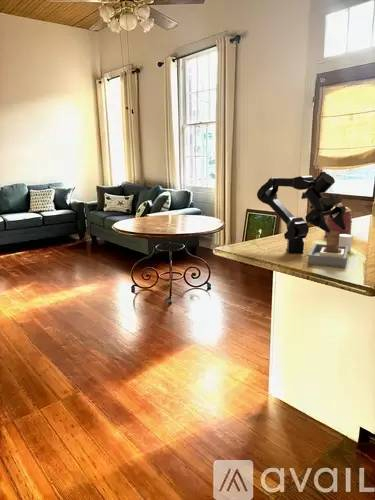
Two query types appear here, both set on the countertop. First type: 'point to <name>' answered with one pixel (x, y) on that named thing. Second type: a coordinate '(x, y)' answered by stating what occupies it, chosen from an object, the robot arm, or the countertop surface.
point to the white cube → (346, 240)
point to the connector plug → (333, 241)
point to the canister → (347, 222)
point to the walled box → (328, 256)
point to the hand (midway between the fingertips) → (337, 230)
